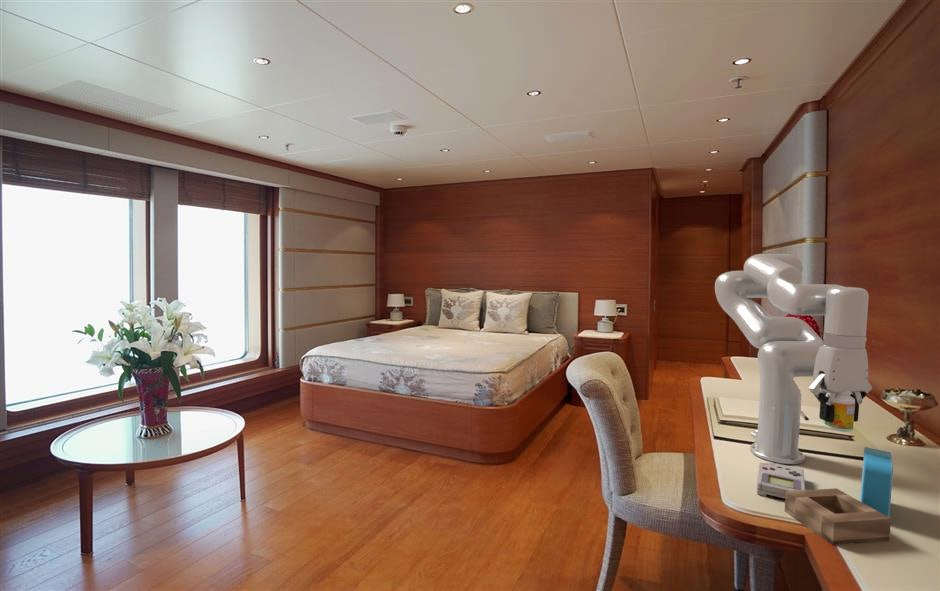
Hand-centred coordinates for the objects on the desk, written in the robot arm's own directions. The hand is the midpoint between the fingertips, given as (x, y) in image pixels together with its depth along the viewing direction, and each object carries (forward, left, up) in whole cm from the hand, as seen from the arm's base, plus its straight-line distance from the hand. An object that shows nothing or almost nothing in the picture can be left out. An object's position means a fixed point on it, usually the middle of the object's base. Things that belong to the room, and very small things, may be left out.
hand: (838, 419), depth 110 cm
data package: (+8, +2, -18) cm, 19 cm away
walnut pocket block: (+12, -11, -17) cm, 24 cm away
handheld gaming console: (-4, -10, -18) cm, 21 cm away
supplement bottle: (0, 0, -2) cm, 2 cm away
